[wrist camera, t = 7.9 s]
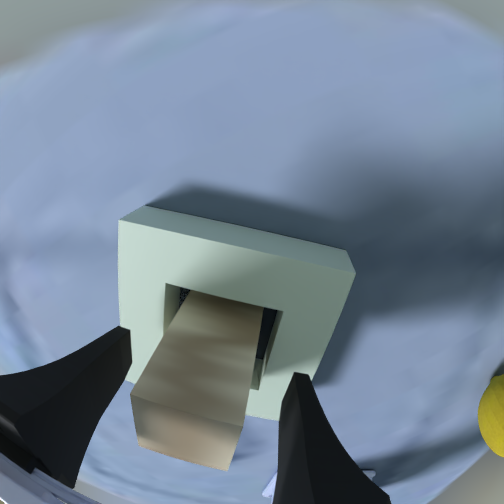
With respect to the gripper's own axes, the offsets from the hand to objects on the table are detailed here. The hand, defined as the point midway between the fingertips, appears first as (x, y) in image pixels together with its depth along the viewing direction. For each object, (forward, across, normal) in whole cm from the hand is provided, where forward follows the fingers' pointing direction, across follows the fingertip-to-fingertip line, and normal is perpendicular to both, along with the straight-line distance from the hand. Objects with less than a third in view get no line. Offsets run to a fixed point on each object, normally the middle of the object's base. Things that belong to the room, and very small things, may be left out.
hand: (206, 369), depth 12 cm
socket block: (+4, 0, 0) cm, 4 cm away
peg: (+4, 0, 0) cm, 4 cm away
